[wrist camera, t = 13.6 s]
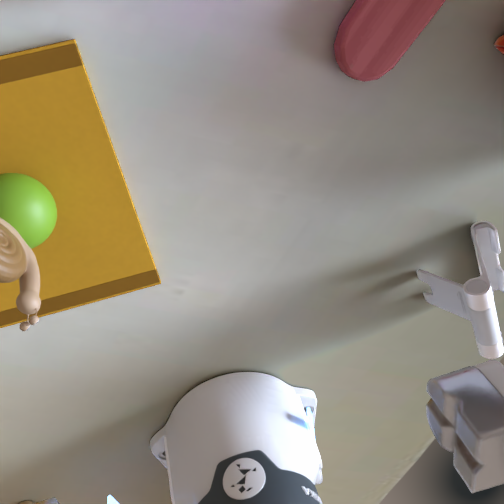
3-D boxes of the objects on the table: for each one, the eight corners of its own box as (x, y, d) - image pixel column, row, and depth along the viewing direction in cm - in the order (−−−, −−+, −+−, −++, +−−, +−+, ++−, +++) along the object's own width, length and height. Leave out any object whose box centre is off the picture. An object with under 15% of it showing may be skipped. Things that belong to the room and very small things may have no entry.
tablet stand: (495, 279, 51) (554, 329, 44) (429, 313, 51) (476, 368, 44) (483, 217, 46) (547, 261, 39) (410, 254, 46) (460, 305, 39)
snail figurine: (32, 250, 37) (-4, 354, 27) (-37, 190, 34) (-108, 283, 24) (86, 211, 37) (69, 303, 27) (21, 146, 33) (-27, 223, 23)
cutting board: (160, 281, 42) (161, 284, 41) (0, 325, 40) (-1, 328, 40) (74, 38, 31) (74, 39, 31) (-147, 89, 30) (-150, 90, 29)
